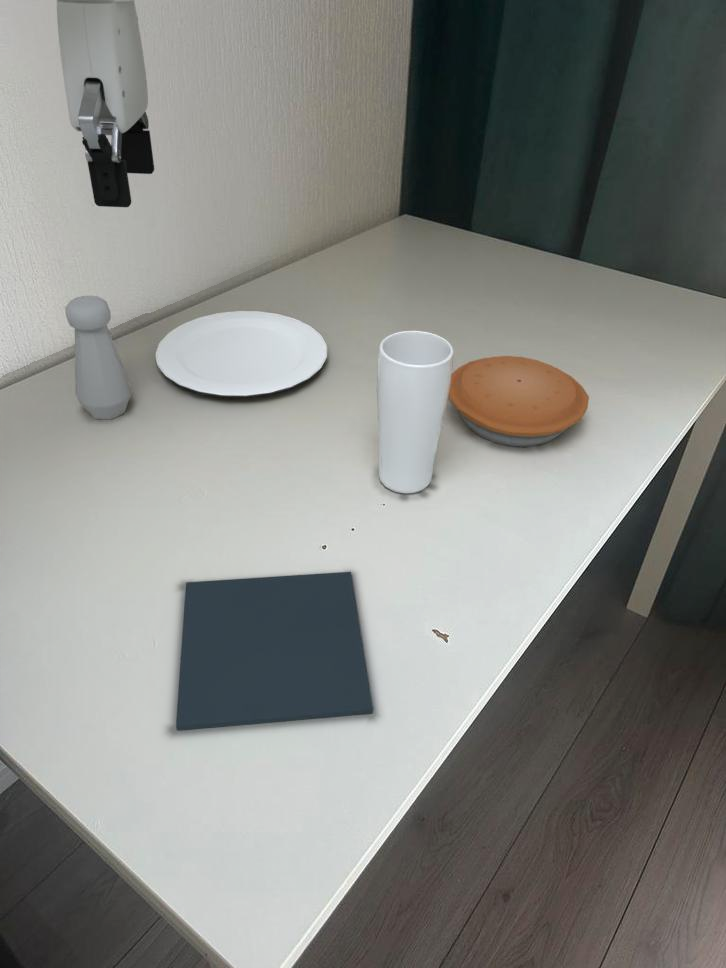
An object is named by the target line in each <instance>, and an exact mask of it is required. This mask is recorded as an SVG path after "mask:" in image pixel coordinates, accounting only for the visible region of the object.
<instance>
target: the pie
mask: <svg viewBox="0 0 726 968" xmlns="http://www.w3.org/2000/svg"><path fill="white" fill-rule="evenodd" d="M589 399H590V396H589V394H588V393H587V391H586V390H585V389H584V386H582V385H581V384H580V383H579V382H578V381H577V380H576V379H575V378H574V377H573V376H572V375H569V374H568V373H566V372H565V371H563V370H561V369H559V368H557V367H555V366H553V365H551V364H549V363H546V362H544V361H540V360H538V359H533V358H529V357H524V356H512V355H501V356H490V357H483V358H479V359H474V360H470V361H468V362H467V363H465V364H463V365H460V366H459V367H458V368H456V369H455V370H454V371H452V377H451V384H450V391H449V396H448V400H450V402H451V403H452V404H453V405H454V406H455V408H456V410H457V411H458V413H459V414H460V416H461V418H462V420H463V421H464V423H465V424H466V425H467V426H468V427H469V430H471V431H473V432H474V433H475V434H476V435H478V436H479V437H481V438H482V439H485V440H488V441H490V442H493V443H494V444H495V443H496V444H499V445H504V446H507V447H508V446H510V447H518V448H519V447H521V448H524V447H526V448H527V447H534V446H539V445H543V444H546V443H549V442H551V441H552V440H554V439H555V438H557V437H558V436H559V435H562V433H563V432H564V431H566V430H567V429H569V428H570V427H571V426H573V425H575V424H576V423H578V422H580V421H581V420H582V419H583V418H584V416H585V415H586V412H587V410H588V407H589Z"/></svg>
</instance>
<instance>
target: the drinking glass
mask: <svg viewBox="0 0 726 968" xmlns="http://www.w3.org/2000/svg"><path fill="white" fill-rule="evenodd" d="M378 348H379V349H378V358H377V365H376V366H377V368H376V403H377V404H376V409H377V427H378V451H379V453H378V454H379V455H378V456H379V463H378V477H379V480H380V482H381V483H382V485H383V486H384V487H386V488H387V489H389V490H391V491H393V492H395V493H399V494H415V493H418V492H421V491H423V490H424V489H426V488H427V487H428V486H429V485H430V483H431V481H432V478H433V471H434V464H435V459H436V454H437V449H438V446H439V441H440V436H441V433H442V432H441V431H442V427H443V422H444V419H445V414H446V409H447V405H448V401H449V391H450V384H451V377H452V373H453V367H454V366H453V364H454V348H453V345H452V344H451V343H450V341H448V340H447V339H445V338H443V337H442V336H440V335H438V334H435V333H432V332H429V331H422V330H403V331H397V332H394V333H391V334H389V335H387V336H386V337H384V338H383V339H382V340H381V341H380V343H379V347H378Z"/></svg>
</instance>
